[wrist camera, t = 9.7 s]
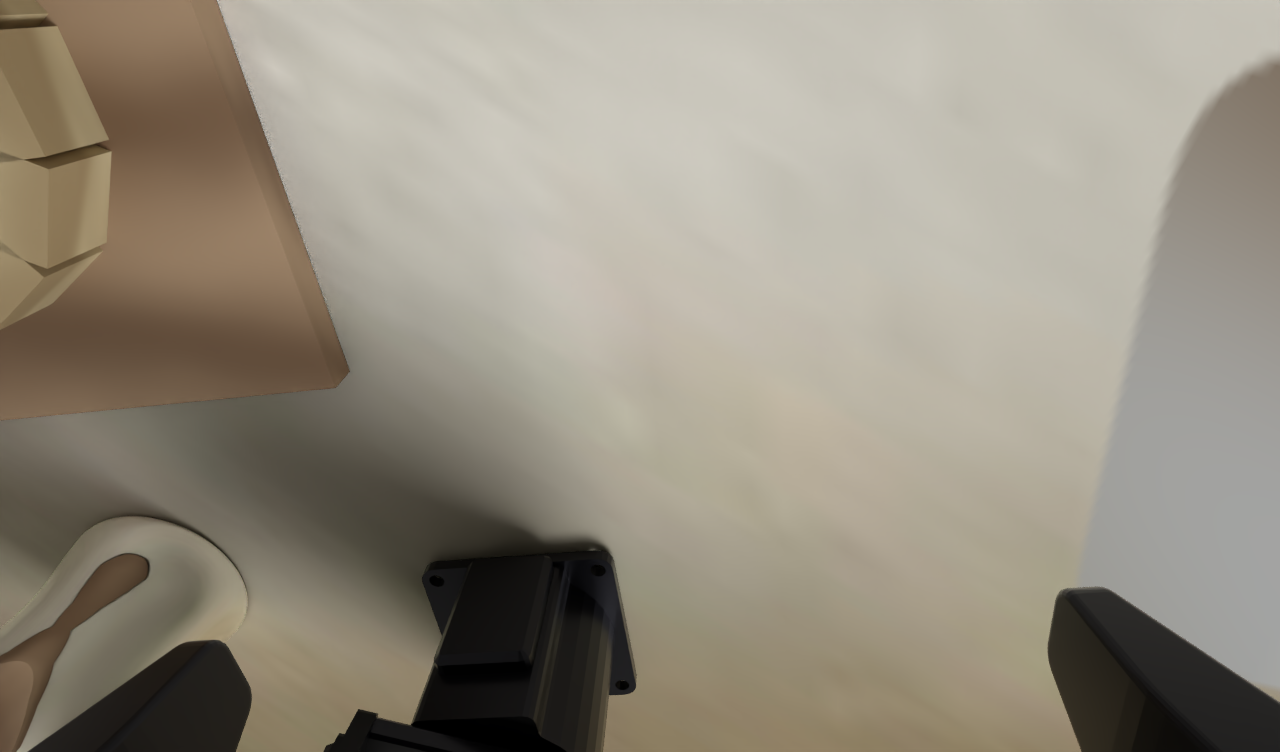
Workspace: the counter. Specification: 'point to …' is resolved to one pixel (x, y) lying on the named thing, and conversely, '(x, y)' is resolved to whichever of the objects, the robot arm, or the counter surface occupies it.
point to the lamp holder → (143, 218)
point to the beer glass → (110, 621)
